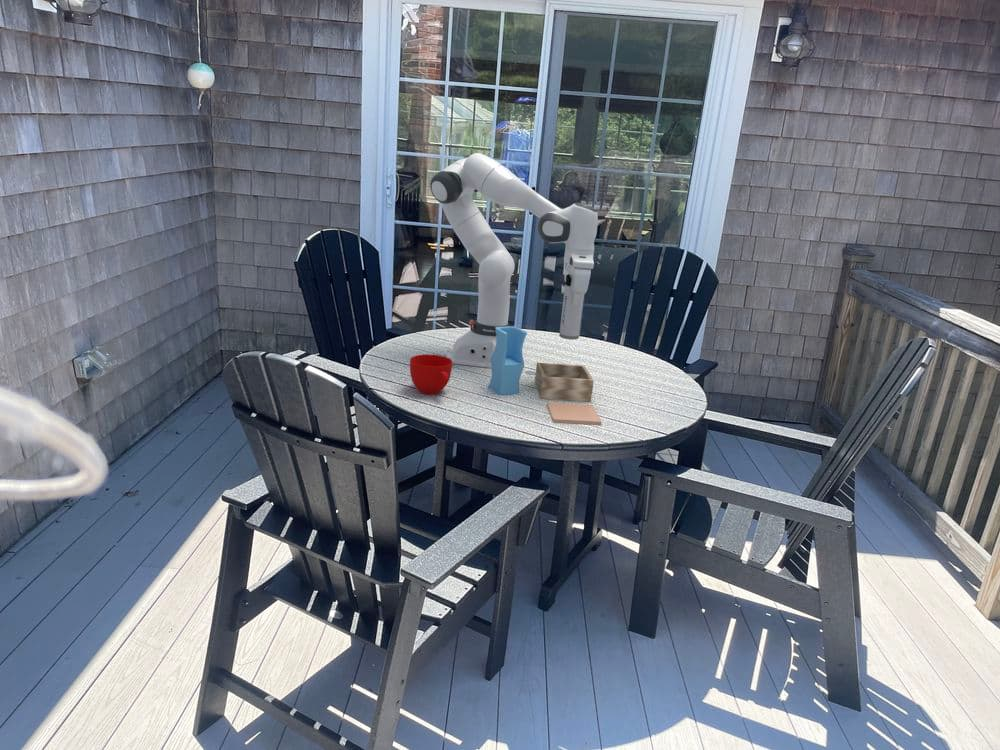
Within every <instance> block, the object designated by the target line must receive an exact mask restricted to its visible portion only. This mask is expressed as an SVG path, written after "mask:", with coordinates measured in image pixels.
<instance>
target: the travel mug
mask: <svg viewBox="0 0 1000 750" xmlns="http://www.w3.org/2000/svg"><path fill="white" fill-rule="evenodd" d="M571 280H572V279H571V278H570V276H569V274H568V275H566V282H564V289H563V290H564V291H563V301H562V307H561V308H562V310H561V317H560V324H559V325H560V327H559V335H558V336H559V337H560V338H561V339H565V340H571V341H572V340H578V339H579V338H580V330H581V322H582V315H583V307H584V300H585V299H584V297H585V294H581V296H580V299H579V303H578V305H573V304H572V298H573V295H574V294H573V292H574V291H573V290H572V289H571Z"/></svg>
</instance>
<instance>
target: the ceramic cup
mask: <svg viewBox="0 0 1000 750" xmlns="http://www.w3.org/2000/svg"><path fill="white" fill-rule="evenodd" d="M452 368H453V363H452V360H451V359H449V358H447V357H446V356H444V355H439V354H431V353H430V354H416V355H413V356H412V357H411V358H410V359H409V373H410V378H411V380H412V383H413V386H414V387H415V388H416V389H417V390H418V392H419V393H420V394H423V395H429V396H430V395H438V394H440V393H441V392H442V391H443V390H444V389H445V388H446V386H447V385H448V383H449V381H450V378H451V374H452V371H453V370H452Z"/></svg>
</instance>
